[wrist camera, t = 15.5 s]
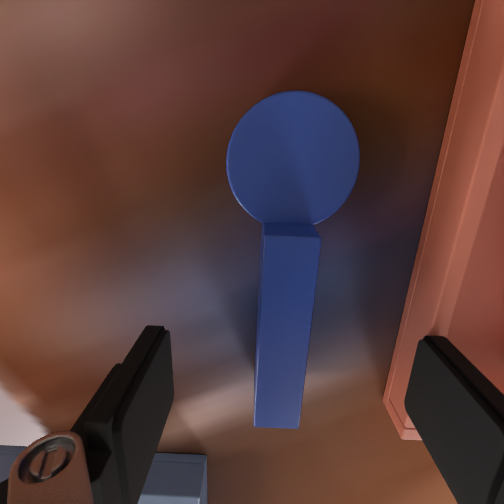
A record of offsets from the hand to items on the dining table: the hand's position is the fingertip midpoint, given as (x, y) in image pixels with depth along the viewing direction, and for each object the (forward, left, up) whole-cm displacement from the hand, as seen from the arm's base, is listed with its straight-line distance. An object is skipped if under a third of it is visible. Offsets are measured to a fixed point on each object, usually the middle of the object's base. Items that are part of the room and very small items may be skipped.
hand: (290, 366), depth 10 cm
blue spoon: (-3, 0, -2) cm, 3 cm away
